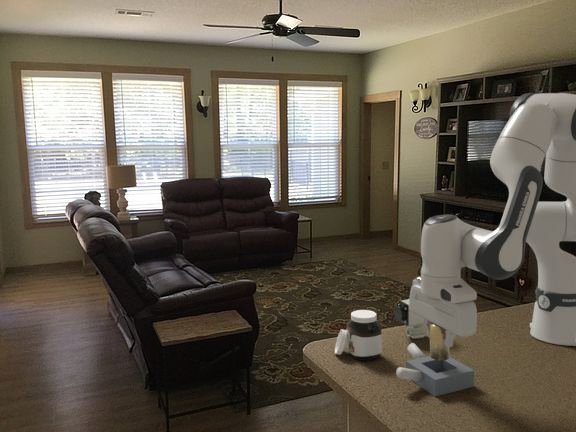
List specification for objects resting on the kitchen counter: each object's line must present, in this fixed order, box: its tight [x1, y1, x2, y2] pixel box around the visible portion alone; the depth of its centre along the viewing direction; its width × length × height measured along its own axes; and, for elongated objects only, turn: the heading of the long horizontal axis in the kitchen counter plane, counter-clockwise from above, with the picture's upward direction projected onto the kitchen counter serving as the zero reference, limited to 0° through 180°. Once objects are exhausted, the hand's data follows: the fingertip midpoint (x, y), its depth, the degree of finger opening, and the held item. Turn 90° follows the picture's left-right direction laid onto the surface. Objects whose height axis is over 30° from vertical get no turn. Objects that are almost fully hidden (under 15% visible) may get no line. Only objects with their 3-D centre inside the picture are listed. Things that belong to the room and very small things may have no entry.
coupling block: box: [395, 342, 475, 397], centre depth 122 cm, size 17×17×6 cm
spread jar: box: [334, 309, 383, 361], centre depth 136 cm, size 12×11×12 cm
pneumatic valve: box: [394, 298, 427, 340], centre depth 148 cm, size 6×12×12 cm, turn 106°
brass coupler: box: [429, 322, 450, 361], centre depth 119 cm, size 4×4×8 cm
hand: (439, 341), depth 119 cm, fingers closed on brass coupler, 4 cm apart
